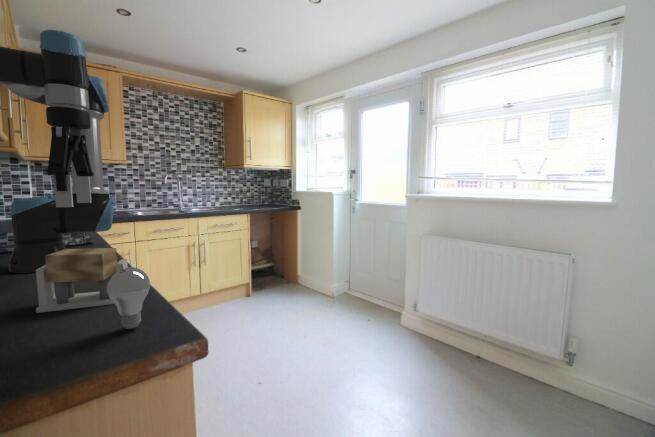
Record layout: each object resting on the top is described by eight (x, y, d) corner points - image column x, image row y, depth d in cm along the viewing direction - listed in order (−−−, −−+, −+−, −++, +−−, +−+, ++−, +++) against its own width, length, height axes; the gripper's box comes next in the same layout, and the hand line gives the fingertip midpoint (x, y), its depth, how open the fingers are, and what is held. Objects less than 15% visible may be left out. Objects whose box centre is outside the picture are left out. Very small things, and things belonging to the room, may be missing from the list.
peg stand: (51, 300, 75) (48, 263, 74) (130, 292, 81) (128, 257, 80) (36, 312, 68) (32, 271, 67) (123, 302, 74) (121, 265, 73)
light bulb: (160, 324, 63) (157, 265, 62) (128, 340, 56) (124, 274, 55) (134, 319, 65) (131, 261, 64) (100, 333, 59) (96, 270, 57)
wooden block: (117, 271, 78) (116, 247, 78) (103, 280, 71) (102, 253, 71) (66, 273, 76) (64, 249, 75) (47, 282, 69) (45, 255, 69)
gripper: (66, 117, 80) (73, 201, 82) (18, 92, 57) (29, 209, 60) (102, 120, 83) (107, 201, 85) (69, 97, 60) (78, 208, 63)
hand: (75, 205), depth 72 cm, fingers open, 13 cm apart
